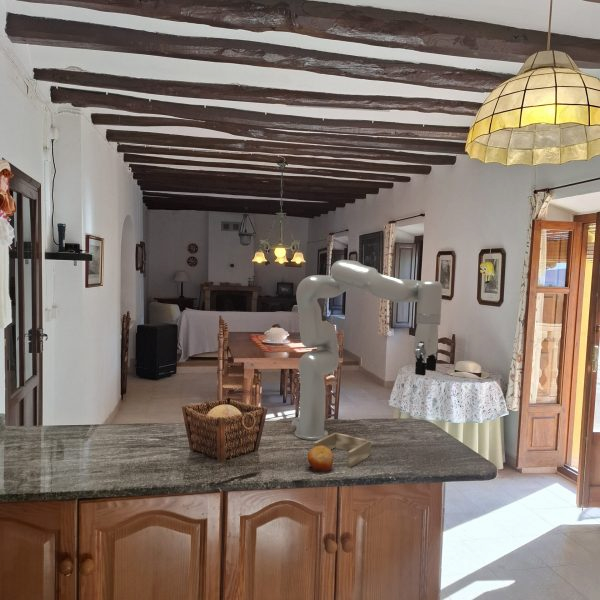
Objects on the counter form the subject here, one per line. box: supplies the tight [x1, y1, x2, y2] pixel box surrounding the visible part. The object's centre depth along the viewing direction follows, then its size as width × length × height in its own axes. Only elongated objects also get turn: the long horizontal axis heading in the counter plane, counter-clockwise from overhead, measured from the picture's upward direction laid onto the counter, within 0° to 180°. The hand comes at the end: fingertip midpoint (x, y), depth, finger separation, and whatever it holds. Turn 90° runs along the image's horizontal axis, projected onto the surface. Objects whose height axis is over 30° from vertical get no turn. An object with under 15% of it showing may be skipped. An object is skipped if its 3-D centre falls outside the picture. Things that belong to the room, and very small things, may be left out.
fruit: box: [307, 445, 334, 472], centre depth 160 cm, size 8×8×8 cm
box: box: [313, 431, 372, 469], centre depth 171 cm, size 14×14×5 cm
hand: (425, 372), depth 164 cm, fingers open, 9 cm apart
